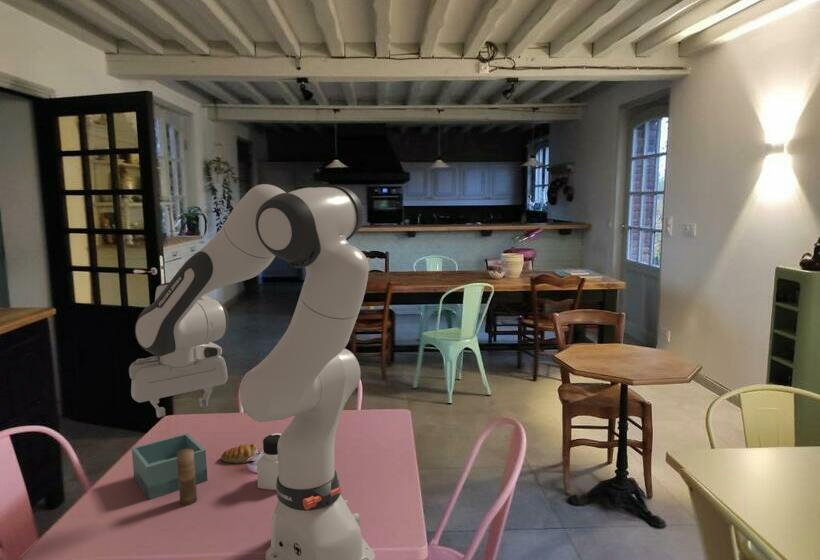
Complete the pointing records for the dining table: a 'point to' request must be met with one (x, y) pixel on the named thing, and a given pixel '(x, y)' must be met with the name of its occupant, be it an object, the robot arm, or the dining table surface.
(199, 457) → the box
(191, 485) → the peg
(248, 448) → the pastry
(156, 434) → the dining table surface
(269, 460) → the medicine bottle
